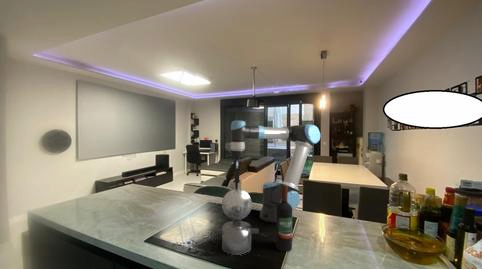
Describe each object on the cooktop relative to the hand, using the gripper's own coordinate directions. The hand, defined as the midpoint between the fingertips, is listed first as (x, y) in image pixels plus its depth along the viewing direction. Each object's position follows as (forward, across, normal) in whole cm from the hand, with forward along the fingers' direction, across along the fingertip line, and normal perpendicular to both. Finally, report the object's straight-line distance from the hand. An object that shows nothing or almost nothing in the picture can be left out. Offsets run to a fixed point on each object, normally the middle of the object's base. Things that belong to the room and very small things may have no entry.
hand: (236, 194), depth 111 cm
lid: (+5, +2, 0) cm, 6 cm away
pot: (+23, +10, +1) cm, 25 cm away
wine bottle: (+23, +10, +24) cm, 34 cm away
